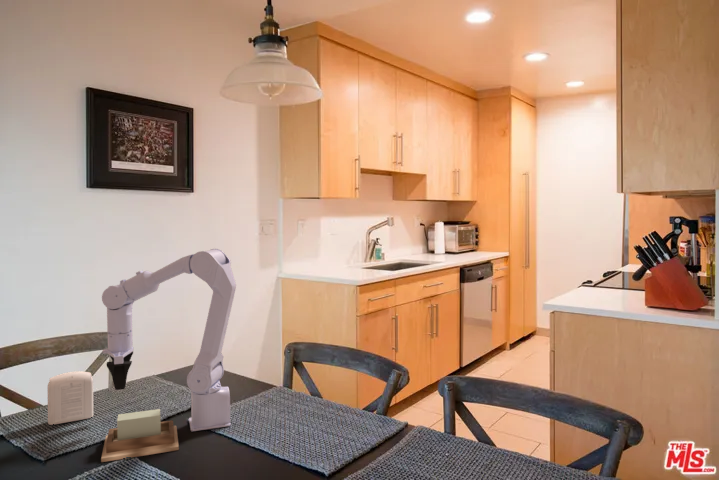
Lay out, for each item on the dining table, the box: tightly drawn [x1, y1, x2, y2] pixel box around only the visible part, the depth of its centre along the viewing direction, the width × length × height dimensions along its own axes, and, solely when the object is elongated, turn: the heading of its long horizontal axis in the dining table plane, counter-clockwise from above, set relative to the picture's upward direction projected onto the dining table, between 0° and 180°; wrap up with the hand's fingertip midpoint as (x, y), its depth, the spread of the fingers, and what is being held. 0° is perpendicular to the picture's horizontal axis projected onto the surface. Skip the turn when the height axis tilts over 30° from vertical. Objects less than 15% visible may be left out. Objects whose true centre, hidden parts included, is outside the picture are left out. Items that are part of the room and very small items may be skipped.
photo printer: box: [47, 370, 94, 426], centre depth 131 cm, size 10×4×12 cm, turn 123°
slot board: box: [100, 419, 180, 463], centre depth 118 cm, size 16×12×3 cm
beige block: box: [116, 408, 162, 441], centre depth 118 cm, size 4×9×6 cm, turn 112°
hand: (121, 384), depth 131 cm, fingers open, 7 cm apart
